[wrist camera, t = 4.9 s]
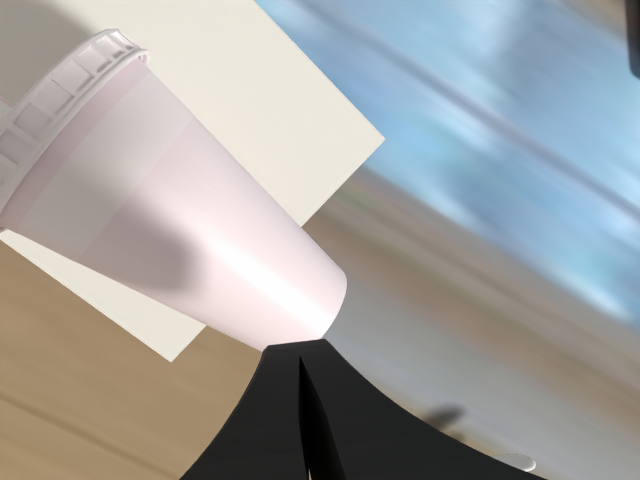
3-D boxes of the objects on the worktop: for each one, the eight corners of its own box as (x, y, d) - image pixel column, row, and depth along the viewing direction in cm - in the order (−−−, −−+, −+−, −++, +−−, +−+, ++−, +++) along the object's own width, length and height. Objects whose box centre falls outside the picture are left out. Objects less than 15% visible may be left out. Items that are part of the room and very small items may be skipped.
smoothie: (256, 309, 20) (-83, 72, 15) (365, 209, 18) (10, -108, 13) (237, 440, 14) (-313, 130, 9) (393, 316, 12) (-217, -170, 7)
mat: (382, 138, 18) (385, 138, 17) (173, 356, 19) (171, 361, 19) (33, -228, 14) (25, -241, 13) (-204, 82, 15) (-219, 81, 15)
